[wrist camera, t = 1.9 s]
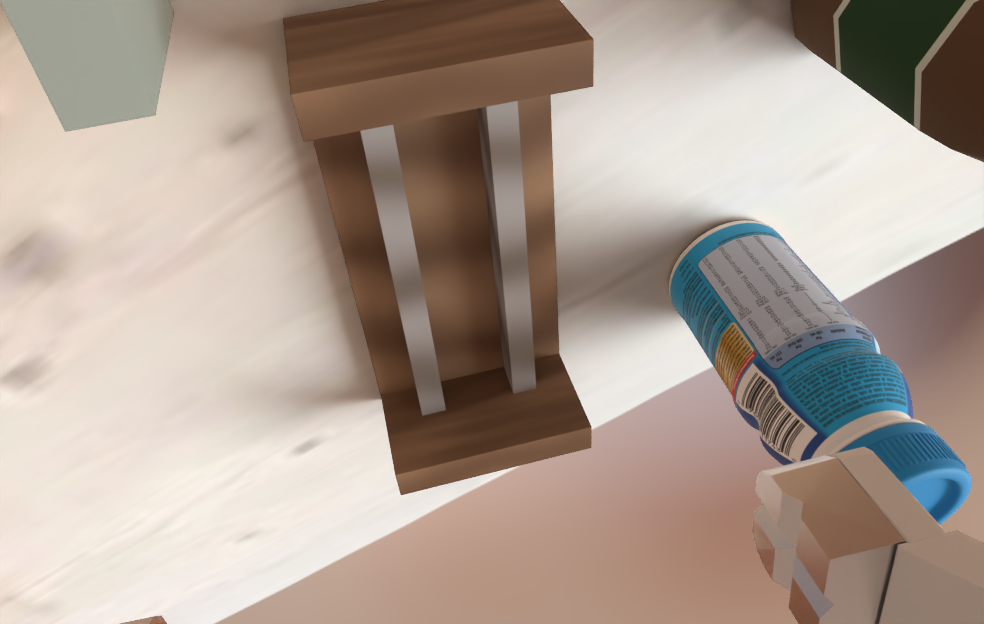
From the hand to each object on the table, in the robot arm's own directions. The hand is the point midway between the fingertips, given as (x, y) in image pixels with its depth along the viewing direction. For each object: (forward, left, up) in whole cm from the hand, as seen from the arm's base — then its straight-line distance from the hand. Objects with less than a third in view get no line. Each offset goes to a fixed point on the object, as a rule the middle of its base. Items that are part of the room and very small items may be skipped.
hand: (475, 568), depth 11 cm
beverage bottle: (+24, +22, -31) cm, 45 cm away
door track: (+16, +4, -31) cm, 35 cm away
